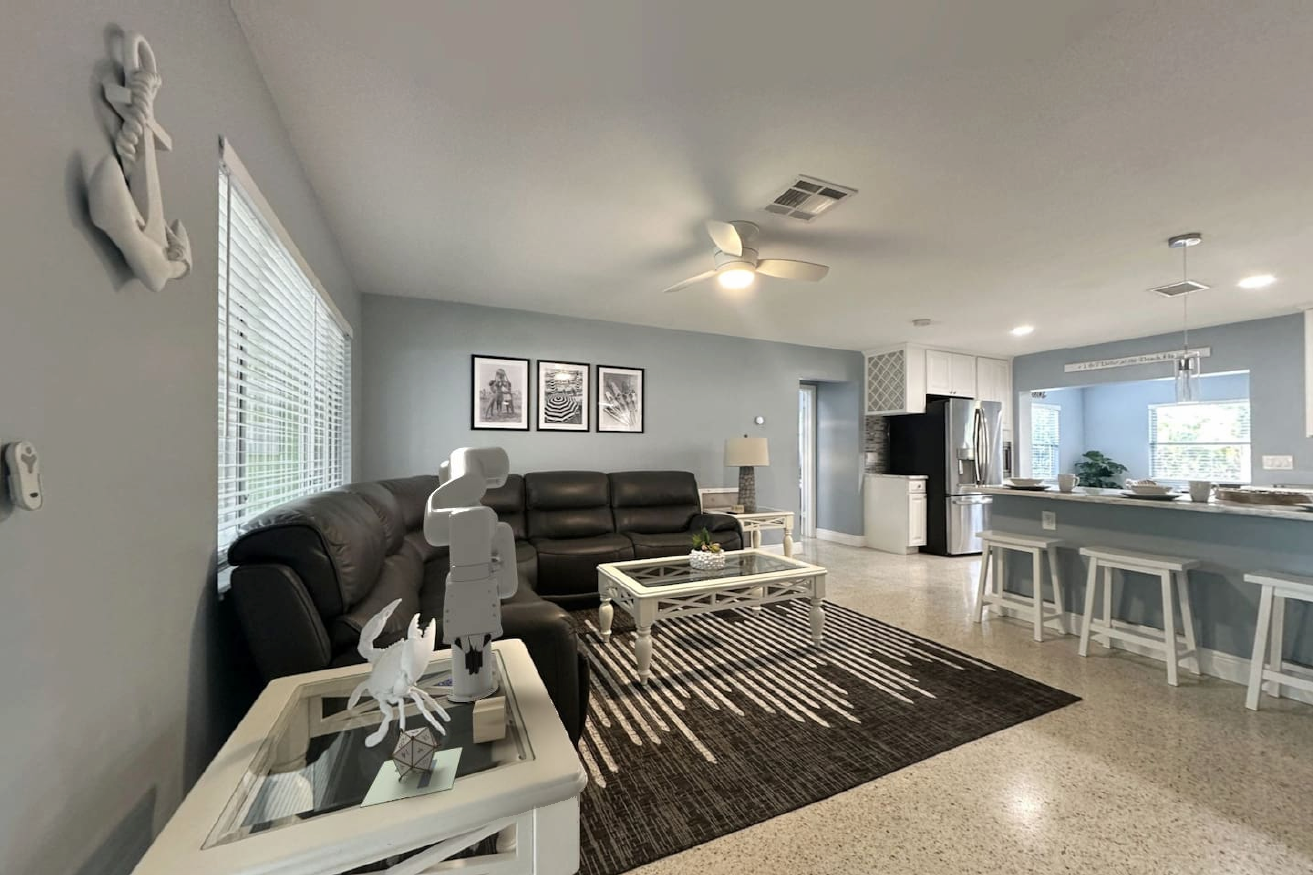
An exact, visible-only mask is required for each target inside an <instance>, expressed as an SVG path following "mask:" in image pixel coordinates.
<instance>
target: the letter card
mask: <svg viewBox="0 0 1313 875" xmlns="http://www.w3.org/2000/svg"><path fill="white" fill-rule="evenodd" d="M462 752H463V747H456V748H451V749H445V750H440V751H436V752H435V755H434V757H433V760H432V763H431V765H430V768H429V770H430V771H431V774H428V771H425V772H421V773H417V774H412V775H408V776H404V777H402V779H401V781H400V782H399V783H398V781H399V780H398V779H399V778H400V777H401V776H400V774H399V772H398V770H397V768H396V766H395V764H394V762H393V760H391V759H390V760H386V761H384V762H383V764H382V765H381V767H380V769H379V771H378V772H377V775H376V777H375V779H374V781H373V782H372V784H371V786H370V788H369V790H368V792H367V794H366V795H365V797H364V798H363V800H362V803H361V804H360V806H359V807H360V808H364V807H368V806H374V805H378V804H384V803H388V802H387V801H389V802H393V801H392V800H393V799H399V800H402V799H401V797H405V796H406V797H409V798H414V797H418V796H422V795H423V796H424V795H428V794H432V793H434V794H435V793H438V792H442V791H447V790H452V789H453V785H454V781H455V777H456V773H457V770H458V765H459V762H460V758H461V754H462ZM413 796H414V797H413Z"/></svg>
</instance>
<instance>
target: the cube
mask: <svg viewBox="0 0 1313 875" xmlns="http://www.w3.org/2000/svg"><path fill="white" fill-rule="evenodd" d="M506 708H507V706H506V695H503V696H498V697H497V696H496V697H490V698H489V697H488V698H484V699H481V700H477V701H475V704H474V707H473V712H472V727H473V728H472V731H473V744H478V743H485V742H490V741H495V740H496V741H497V740H500V739H505V738H506V730H507V709H506Z"/></svg>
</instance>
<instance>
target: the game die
mask: <svg viewBox="0 0 1313 875" xmlns="http://www.w3.org/2000/svg"><path fill="white" fill-rule="evenodd" d="M431 725H432V721H430V722H428V725H427V726H423V727H417V728H413V729H409V730H405V731H404V729H403V728H402V727H399V732H400V733H401V734H400V736H399V739H398V740H397V743H396V745H395V747H394V749H393V752H392V754H391V755H388V756H387V757H386V759H387V761H390V760H391V759H392V760H393V762H394V764H395V766H396V768H397V770H398V772H399V774H400V776H401V777H400V778H399V779H398V780H399V781H398V783H399V782H400V781H401V779H402V777H404V776H408V775H412V774H417V773H421V772H425V771H428V774H431V771H430V770H429V768H430V765H431V763H432V760H433V757H434V755H435V752H437V750H438V749H439V747H441V746H442V745H443V744H442V743H441V742H439V743H438V742H437V740H436V738H435V736H434V734H433V732H432V730H431Z"/></svg>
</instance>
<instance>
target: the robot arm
mask: <svg viewBox="0 0 1313 875" xmlns="http://www.w3.org/2000/svg"><path fill="white" fill-rule="evenodd" d="M509 472H510V459H509V456H508V452H506V450H505V449H503V447H501V446H495V445H494V446H490V445H489V446H469V447H468V446H467V447H460V448H458V449H455V450H454V451H453V452H452V453H451V454H450V455H449V456H448V460H446V461H444V462H442V463H441V464H440V465H439V467H438V474H437V475H438V481H439V487H438V488H437V489H436V490H435V491H433V492H432V493H431V494H430V495H429V497H428V499H427V501H426V503H425V509H424V516H423V518H424V519H423V534H424V535H423V536H424V539H425V540H426V542H427V543H428V544H429V545H430V546H433V547H444V546H449V569H450V570H449V572H448V573H447V576H446V578H445V593H444V600H443V601H444V602H443V604H444V605H443V621H442V622H443V624H442V625H443V626H442V627H443V628H442V630H443V638H442V643H443V644H444V645H451V646H450V647H451V649H450V650H451V679H452V681H451V682H452V687H453V694H450V695H447V697H448V698H449V699H450V700H452V701H456V702H466V701H468V703H470V702H469V701H474V702H476V701H475V700H479V699H481V698H483V697H485V696H486V695H488V694H489V693H492V692H493V691H494V690H495V688H494V687H492V684H493V679H494V678H493V658H492V657H493V655H492V654H493V652H492V640H494V639H497V638H499V637H502V636H503V634H504V630H503V627H502V624H501V623H502V607H501V606H502V604H501V600H502V599H503V600H504V599H509V598H512V597H514V595H515V594H516V593H517V590H518V585H519V584H518V583H519V580H518V567H517V566H518V565H517V556H516V544H515V535H514V529H512V527H511V525H510V524H509V523H507V522H503V521H499V519H498V518H499V517H498V513H496V512H495V510H493V508H492V507H490V506H486V505H483V504H482V503H481V502H480V500H481V499H482V498H483V497H484V496H485V494H486V492H487V489H498V488H501V487H503V486H504V485H505V484H506V481H507V479H508V477H509ZM492 559H496V560H497V561H495V562H493V560H492ZM491 689H492V690H491ZM451 695H453V696H451ZM481 700H482V699H481Z"/></svg>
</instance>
